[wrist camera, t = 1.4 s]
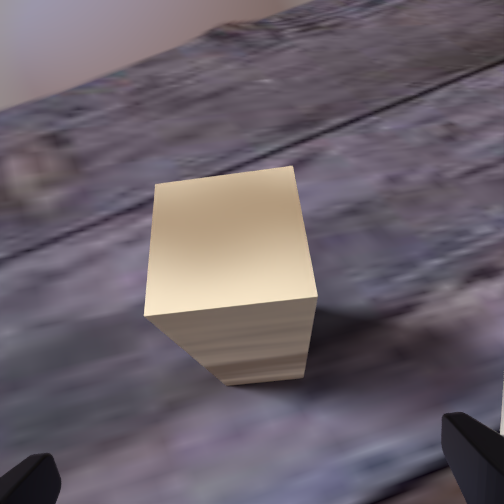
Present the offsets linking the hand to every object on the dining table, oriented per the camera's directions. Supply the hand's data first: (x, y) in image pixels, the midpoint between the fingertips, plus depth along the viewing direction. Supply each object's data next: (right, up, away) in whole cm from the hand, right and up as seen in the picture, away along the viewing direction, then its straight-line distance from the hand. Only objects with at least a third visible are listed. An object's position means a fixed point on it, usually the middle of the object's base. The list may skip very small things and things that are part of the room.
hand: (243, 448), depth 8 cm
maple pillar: (+1, -1, +13) cm, 13 cm away
